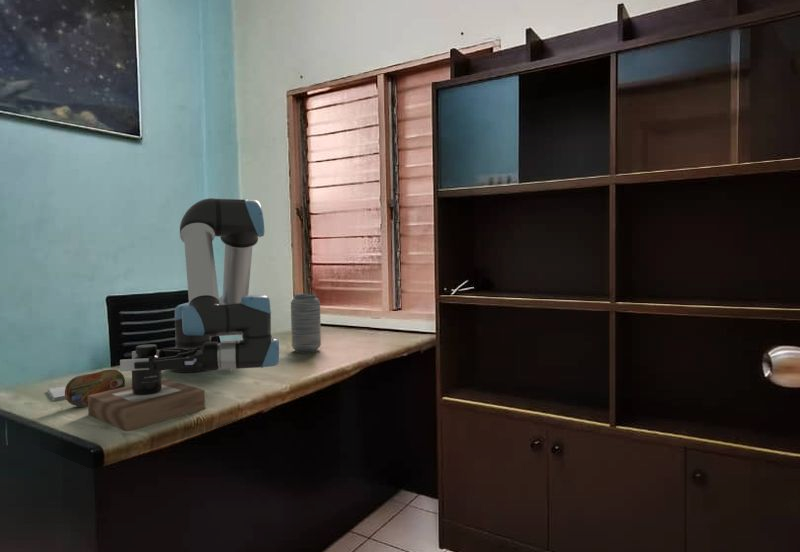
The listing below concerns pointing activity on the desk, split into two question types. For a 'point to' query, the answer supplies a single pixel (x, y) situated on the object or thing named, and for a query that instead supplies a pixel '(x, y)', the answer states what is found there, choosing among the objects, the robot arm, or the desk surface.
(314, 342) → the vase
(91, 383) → the tin
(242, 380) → the desk surface
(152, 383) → the supplement bottle
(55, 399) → the hard drive
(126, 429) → the plinth
